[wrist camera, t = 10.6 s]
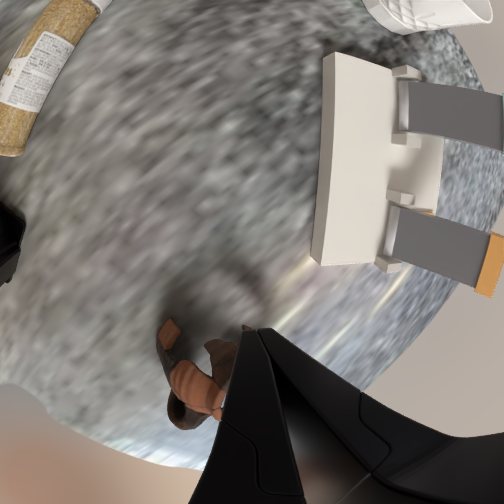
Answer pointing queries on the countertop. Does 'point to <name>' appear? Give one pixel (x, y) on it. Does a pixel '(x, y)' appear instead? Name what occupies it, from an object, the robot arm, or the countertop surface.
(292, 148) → the countertop surface
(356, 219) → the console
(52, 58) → the sprinkles bottle
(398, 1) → the white cup
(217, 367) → the pottery mug
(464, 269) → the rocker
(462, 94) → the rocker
